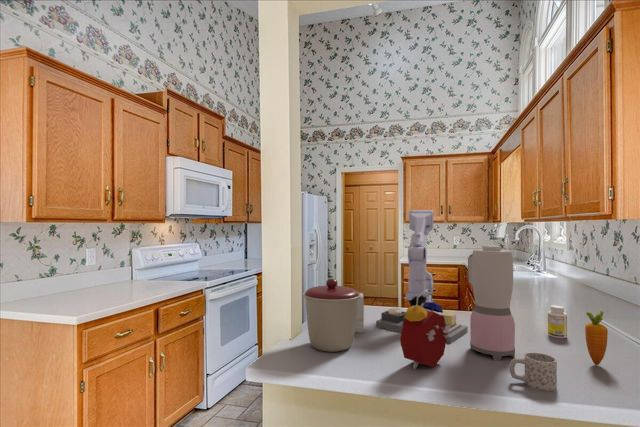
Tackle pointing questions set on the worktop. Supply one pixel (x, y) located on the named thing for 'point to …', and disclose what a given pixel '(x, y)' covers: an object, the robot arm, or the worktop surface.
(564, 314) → the supplement bottle
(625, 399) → the worktop surface
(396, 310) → the cream button
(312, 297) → the canister
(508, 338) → the blender
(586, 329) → the carrot
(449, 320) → the pale yellow cube
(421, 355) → the alarm clock
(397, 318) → the control panel
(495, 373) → the worktop surface
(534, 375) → the mug
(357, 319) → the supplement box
